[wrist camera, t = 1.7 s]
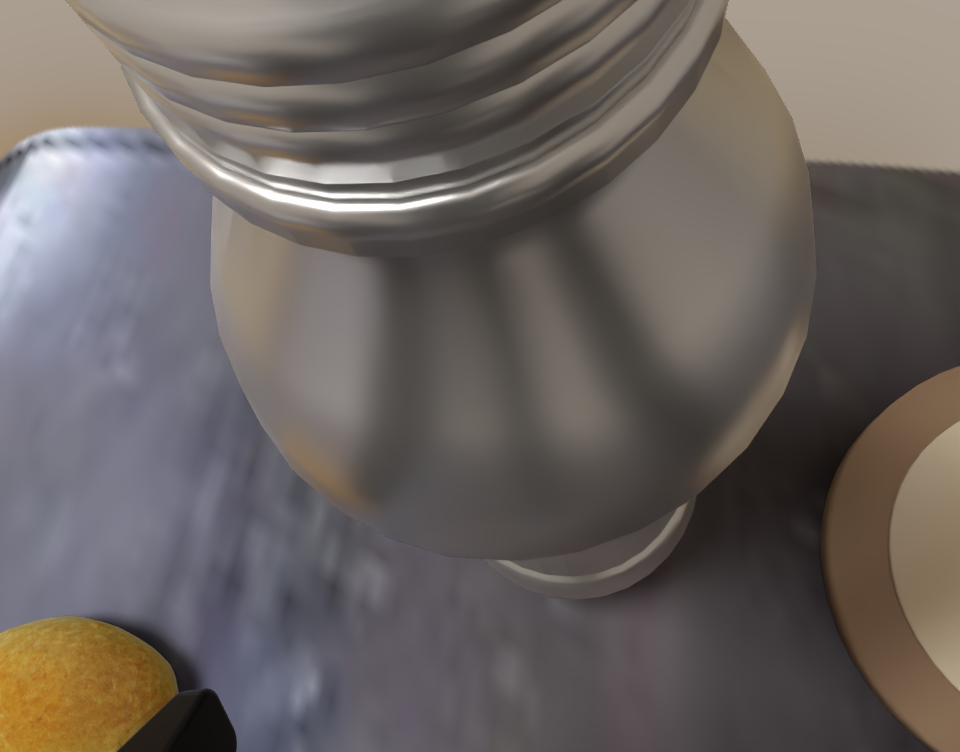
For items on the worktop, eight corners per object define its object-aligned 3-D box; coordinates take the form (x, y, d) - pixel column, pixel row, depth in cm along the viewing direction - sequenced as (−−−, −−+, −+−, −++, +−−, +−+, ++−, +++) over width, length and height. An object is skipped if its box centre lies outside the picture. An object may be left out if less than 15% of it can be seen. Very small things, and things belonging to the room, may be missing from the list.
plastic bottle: (677, 366, 22) (977, -943, 4) (702, 602, 20) (1716, 303, 2) (466, 381, 23) (-132, -587, 5) (468, 607, 21) (-622, 460, 3)
